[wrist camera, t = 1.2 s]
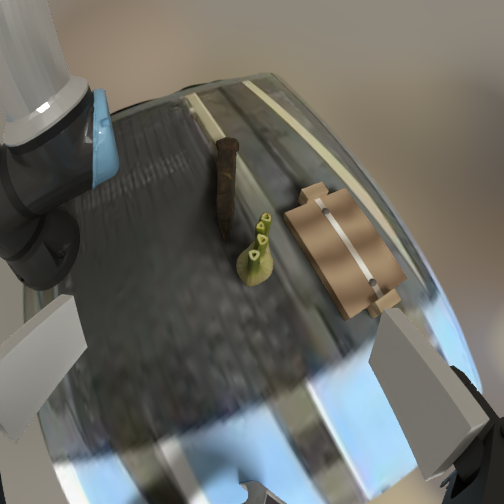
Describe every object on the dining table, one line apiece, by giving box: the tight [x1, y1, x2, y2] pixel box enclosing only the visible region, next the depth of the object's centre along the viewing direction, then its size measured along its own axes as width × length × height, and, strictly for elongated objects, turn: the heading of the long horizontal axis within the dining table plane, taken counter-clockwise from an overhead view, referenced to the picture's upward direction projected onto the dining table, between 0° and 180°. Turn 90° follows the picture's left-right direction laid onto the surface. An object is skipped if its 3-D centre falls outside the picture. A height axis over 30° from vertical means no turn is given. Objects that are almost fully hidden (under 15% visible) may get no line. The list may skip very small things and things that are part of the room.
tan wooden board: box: [283, 182, 407, 321], centre depth 40 cm, size 22×12×3 cm, turn 27°
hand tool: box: [216, 137, 239, 242], centre depth 43 cm, size 19×4×5 cm, turn 179°
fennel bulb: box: [236, 212, 273, 287], centre depth 34 cm, size 6×5×12 cm
